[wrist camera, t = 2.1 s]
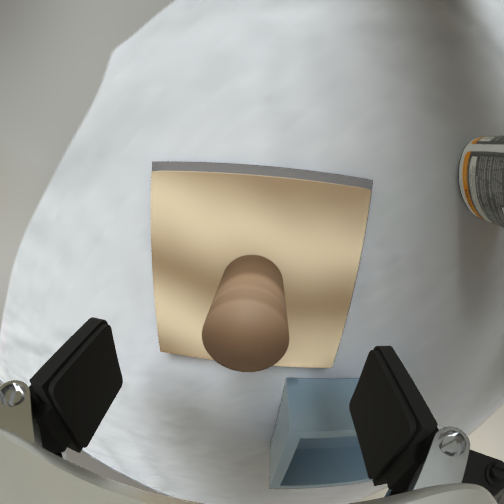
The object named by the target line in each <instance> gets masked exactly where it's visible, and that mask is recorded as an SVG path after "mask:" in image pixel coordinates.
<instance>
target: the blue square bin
mask: <svg viewBox="0 0 504 504" xmlns="http://www.w3.org/2000/svg"><path fill="white" fill-rule="evenodd" d="M358 381H359V378H341V379H313V378H286V382H285V387H284V391H283V396H282V400H281V404H280V409H279V413H278V417H277V421H276V425H275V429H274V433H273V437H272V441H271V445H270V475H269V489H300V488H319V487H331V486H341V485H349V484H356V483H362V482H368V481H373V479H372V480H370V479H369V478H368V475H367V471H366V467H365V463H364V459H363V456H362V452H361V448H360V445H359V441H358V438H357V434H356V431H355V427H354V424H353V420H352V417H351V414H350V410H349V404H350V400H351V398H352V395H353V393H354V391H355V388H356V386H357V383H358Z"/></svg>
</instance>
